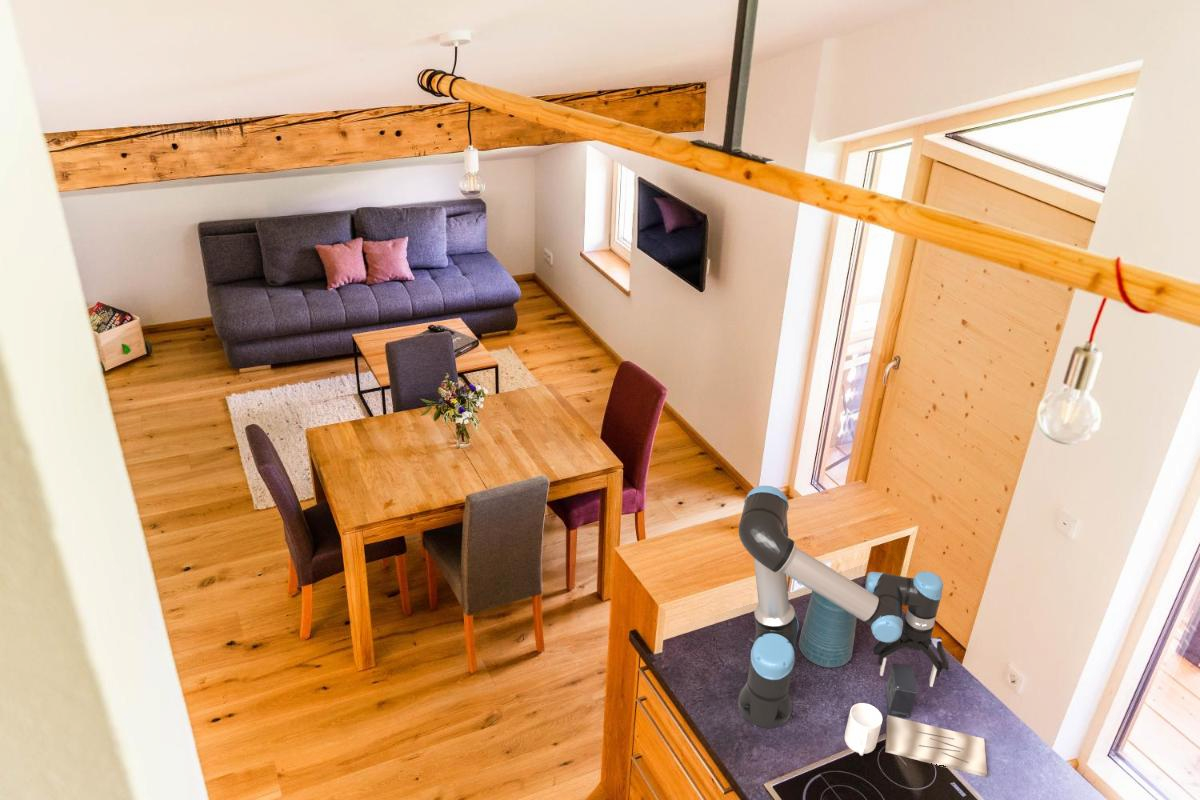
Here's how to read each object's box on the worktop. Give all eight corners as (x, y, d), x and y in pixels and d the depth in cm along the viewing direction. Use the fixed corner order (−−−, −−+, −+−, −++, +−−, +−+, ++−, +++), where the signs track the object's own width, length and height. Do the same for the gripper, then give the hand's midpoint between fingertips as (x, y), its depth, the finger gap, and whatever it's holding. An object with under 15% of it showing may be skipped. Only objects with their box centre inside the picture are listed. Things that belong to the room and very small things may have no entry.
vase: (787, 648, 277) (798, 582, 264) (818, 624, 287) (831, 559, 274) (831, 678, 267) (845, 611, 254) (861, 652, 276) (877, 586, 263)
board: (885, 751, 244) (886, 748, 243) (886, 718, 254) (887, 714, 253) (985, 777, 237) (987, 773, 237) (982, 742, 247) (984, 738, 247)
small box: (911, 719, 254) (918, 693, 249) (887, 715, 255) (894, 689, 250) (907, 691, 263) (914, 665, 258) (884, 687, 264) (891, 662, 259)
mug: (843, 761, 241) (849, 733, 236) (844, 726, 251) (850, 699, 246) (875, 768, 239) (883, 741, 234) (875, 733, 249) (882, 706, 244)
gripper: (872, 621, 243) (860, 677, 254) (968, 641, 237) (952, 697, 247) (873, 603, 250) (861, 658, 260) (966, 622, 243) (951, 678, 254)
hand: (906, 677), depth 254 cm, fingers open, 13 cm apart
